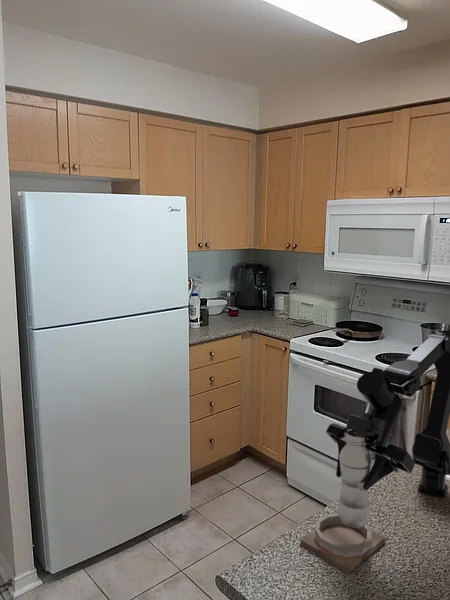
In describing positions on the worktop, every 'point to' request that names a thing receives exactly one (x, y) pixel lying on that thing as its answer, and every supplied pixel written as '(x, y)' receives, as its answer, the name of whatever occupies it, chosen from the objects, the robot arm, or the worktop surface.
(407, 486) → the worktop surface
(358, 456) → the silver bottle
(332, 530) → the square coaster with ring
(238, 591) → the worktop surface
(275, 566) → the worktop surface
